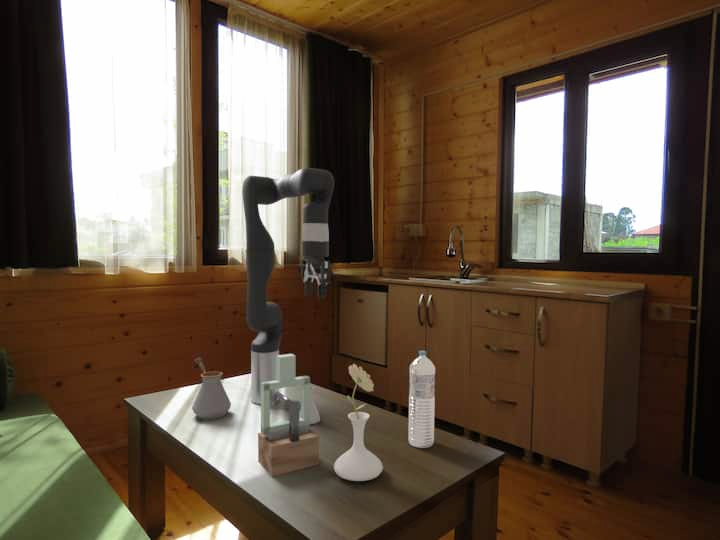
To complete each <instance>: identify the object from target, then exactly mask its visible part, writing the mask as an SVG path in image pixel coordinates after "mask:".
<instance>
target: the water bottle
mask: <svg viewBox="0 0 720 540" xmlns="http://www.w3.org/2000/svg"><path fill="white" fill-rule="evenodd" d="M418 353H419V354H418V355H419V356H418V357H416V358H415V359H414V360H413V361H412V362H411V364H410V365H409V368H408V369H409V395H408V432H407V433H408V438H407V439H408V443H409V445H411V447H414V448H418V449H428V448H431V447H432V446H433V445H434V443H435V441H434V440H435V409H436V408H435V403H436V401H435V400H436V399H435V398H436V397H435V389H436V388H435V383H436V382H435V378H436V367H435V364H434V363H433V362H432V361H431V359H429V358H428V357H427V351H426V350H419V351H418Z"/></svg>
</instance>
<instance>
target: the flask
mask: <svg viewBox="0 0 720 540" xmlns="http://www.w3.org/2000/svg"><path fill="white" fill-rule="evenodd" d="M314 391H315V387H314V386H310V425H315V424H317V423H319V422H320V421H321V416H320V413H319V410H318V408H317V405H316V402H315V399H314ZM299 418H301V409H299Z"/></svg>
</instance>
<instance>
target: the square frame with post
mask: <svg viewBox="0 0 720 540" xmlns="http://www.w3.org/2000/svg"><path fill="white" fill-rule="evenodd" d="M296 359H297V357H296V355H295V354H293V353H286V354H279V355H276V380H274V381H267V382H261V404H260V433H261V432H262V433H263V434H264V435H265V436H266V437H267V438H268V439H269V440H273V439H278V438H282V437H287V436H289V419H287V420H283V421H281V420H280V421H276V422H272V423H270V422H271V417H270V416H271V415H270V413H271V409H270V390H272V389H279V390H280V389H284V388H290V387H297V386H300V410H301V418H299V434H301V433H305V432H309V429H310V428H309V426H310V425H311V424H310V387H311V377H310V376H309V375H300V376H296V369H297V368H296V367H297V366H296Z"/></svg>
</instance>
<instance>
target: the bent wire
mask: <svg viewBox="0 0 720 540" xmlns="http://www.w3.org/2000/svg"><path fill="white" fill-rule="evenodd" d="M277 398H279V400H281V401H282V402H284V404H286V405H288V420H289V441H291V442H297V441H299V412H300V401H299V400H294V399H293V400H291V399H290V398H288V397H287V396H286V395H284V394H283V393H281V392H280V390H279V391H276V392H275V393H274V395H273V397H272V399H271V401H270V410H272V408H273V406H274V405H275V403H276V402H275V401H276V399H277Z"/></svg>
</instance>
